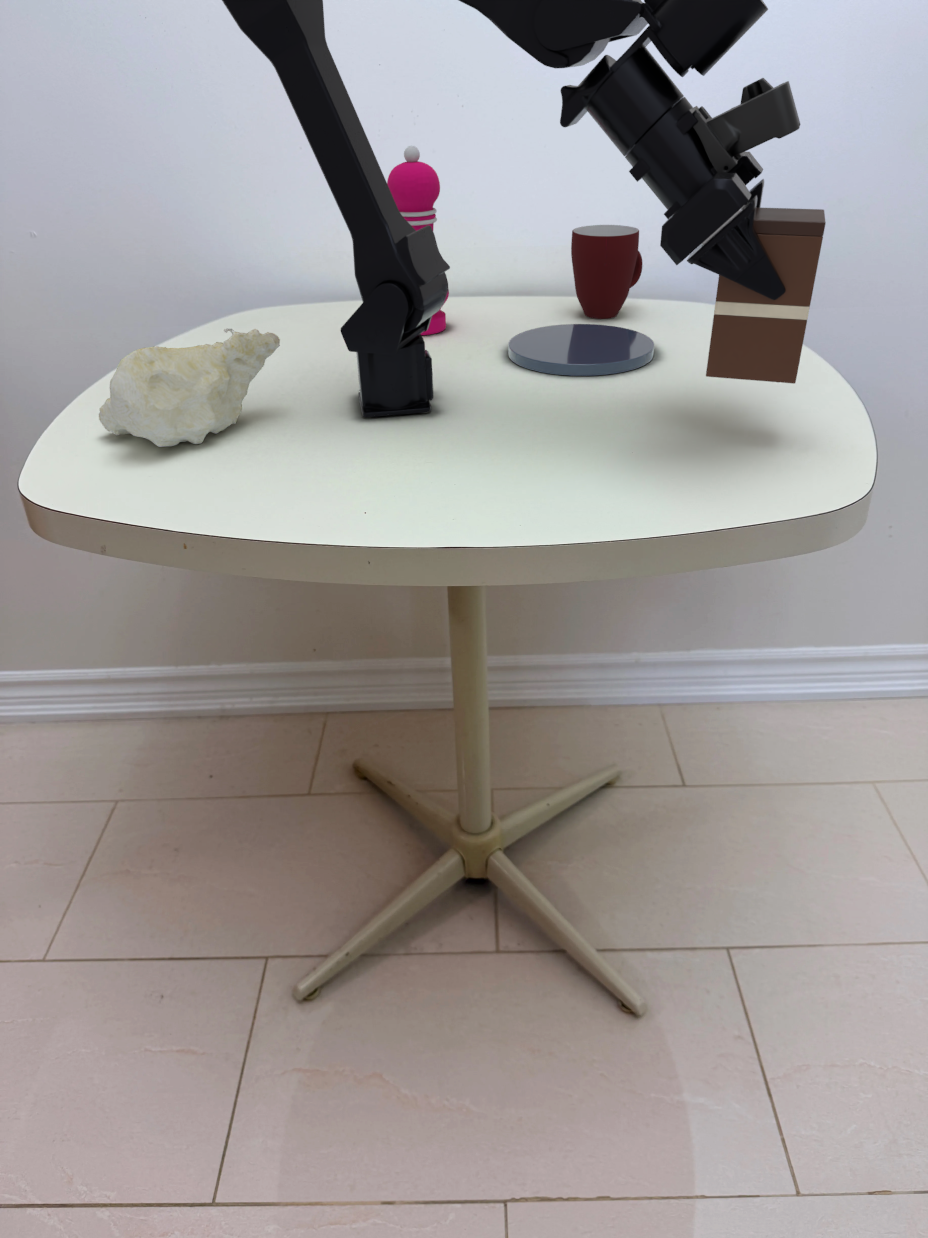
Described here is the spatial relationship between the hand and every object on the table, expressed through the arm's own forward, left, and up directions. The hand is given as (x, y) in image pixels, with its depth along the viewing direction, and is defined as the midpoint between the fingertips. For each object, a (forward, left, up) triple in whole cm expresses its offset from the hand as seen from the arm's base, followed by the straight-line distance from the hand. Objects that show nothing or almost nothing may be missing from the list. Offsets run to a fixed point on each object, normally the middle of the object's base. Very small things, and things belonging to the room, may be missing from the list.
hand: (782, 287), depth 71 cm
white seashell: (-48, +14, -13) cm, 52 cm away
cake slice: (-1, +1, -7) cm, 7 cm away
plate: (-8, +28, -12) cm, 32 cm away
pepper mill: (-24, +43, -13) cm, 51 cm away
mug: (0, +44, -13) cm, 46 cm away
